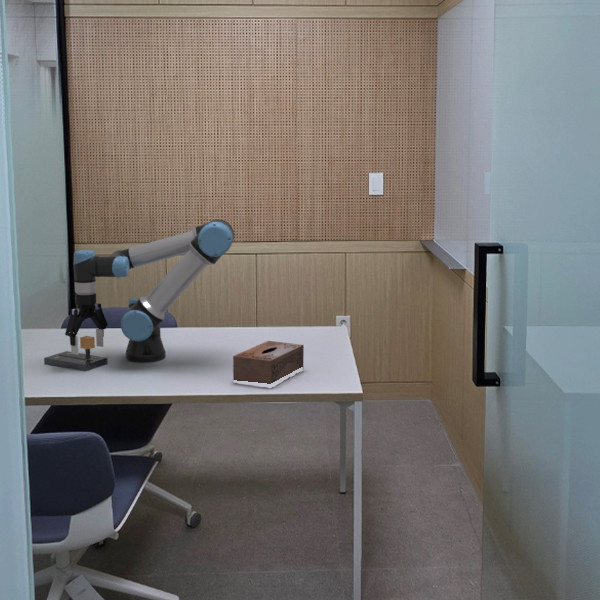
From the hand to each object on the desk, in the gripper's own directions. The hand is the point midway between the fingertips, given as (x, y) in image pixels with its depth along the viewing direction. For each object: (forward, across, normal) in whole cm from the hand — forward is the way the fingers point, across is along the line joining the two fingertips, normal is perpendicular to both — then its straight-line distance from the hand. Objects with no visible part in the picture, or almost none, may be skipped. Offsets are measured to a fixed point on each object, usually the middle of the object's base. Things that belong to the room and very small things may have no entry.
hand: (87, 350), depth 330 cm
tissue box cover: (+7, -21, +65) cm, 69 cm away
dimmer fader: (+3, 0, 0) cm, 3 cm away
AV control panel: (+6, 0, -6) cm, 9 cm away
